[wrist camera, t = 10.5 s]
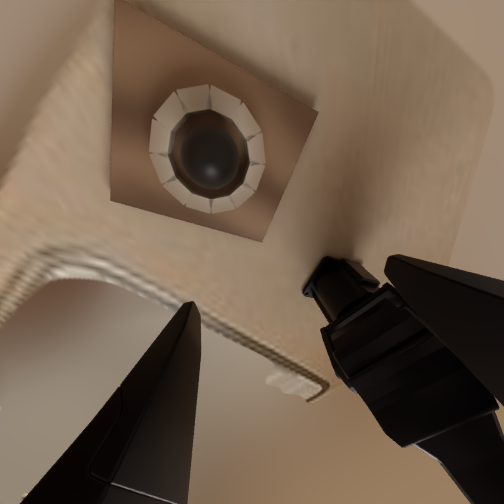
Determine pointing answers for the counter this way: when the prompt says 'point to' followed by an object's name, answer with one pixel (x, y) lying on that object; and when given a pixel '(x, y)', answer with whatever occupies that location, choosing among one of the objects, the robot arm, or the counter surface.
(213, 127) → the egg
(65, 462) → the robot arm
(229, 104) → the egg stand
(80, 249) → the counter surface
